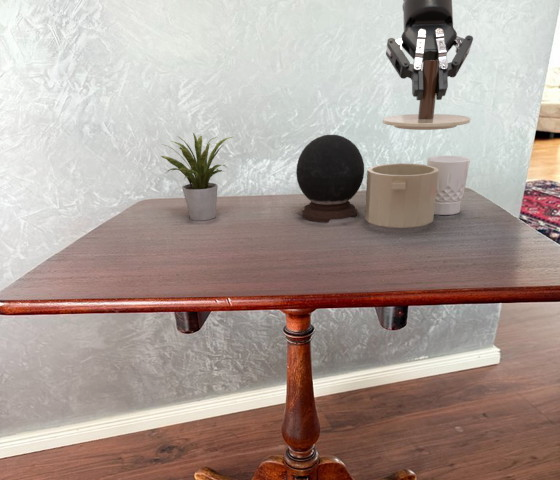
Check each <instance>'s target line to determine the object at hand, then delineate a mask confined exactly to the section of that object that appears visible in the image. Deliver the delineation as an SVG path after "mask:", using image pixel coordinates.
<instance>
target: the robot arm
mask: <svg viewBox="0 0 560 480" xmlns="http://www.w3.org/2000/svg"><path fill="white" fill-rule="evenodd" d="M402 12H403V32H402V33H401V37H400V38H398V39H395V38H394V37H389V38H388V39H387V41H386V50H385V56H386V57H387V59H388V61H389V63H390V64H391V65H392V67H393V68H394V70H395V72H396V73H397V75H398V76H399V78H400V79H404V80H405V79H407V78H408V79H410V80H411V95H412V96H413V97H414V98H416V99H415V100H416V101H420V100H422V95H423V71H422V69H423V61H424V60H440V62H439V71H438V80H437V90H436V99H435V101H441V100H442V99H443V97H445V96H446V94H447V91H448V87H449V82H448V81H449V80H448V79H449V78H455V77H456V76H457V75H458V73H459V72H460V70H461V68H462V66H463V65H464V62H465V61H466V58H467V57H468V55H469V54H470V50H471V47H472V45H473V41H474V37H473V36H472V35H471V34H470V35H466V36H465V38H463V37H461V36H458V32H457V31H456V29H455V28H454V15H453V0H402ZM453 47H455V49H454V52H455V55H454V57H453V59H452V60H451V61H450V62H448V58H447V54H448V52H449V51H450V50H451V49H452V48H453ZM403 50H404V51H405V52H406V53H407V54H408V55H409V56H410V57H411V59H412V60H413V61H412V63H411V62H410V60H409V59H408V57H407V56H406V54H405V53H404V51H403Z"/></svg>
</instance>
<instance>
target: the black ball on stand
mask: <svg viewBox="0 0 560 480" xmlns="http://www.w3.org/2000/svg"><path fill="white" fill-rule="evenodd" d="M364 176H365V163H364V159H363V156H362V154H361V151H360V150H359V148H358V147H357V146H356V144H355V143H353V142H352V141H351V140H350V139H348V138H346V137H344V136H342V135H340V134H325V135H321V136H318V137H316V138H314V139H313V140H311V141H310V142H309V143H308V144H307V145H305V147H304V148H303V150H302V151H301V152H300V155H299V157H298V160H297V163H296V181H297V184H298V187H299V189H300V191H301V192H302V194H303V195H304V196H305V197H306V198H307V199H308V200H309V201H310V202H309V203H308V204H306V205H305V206H304V208H303V210H301V217H302V218H303V219H304V220H307V221H311V222H314V223H315V222H316V223H329V222H330V221H331V220H342V219H343V220H344V219H349V218H357V217H358V212H359V211H358V209H357V208H356V206H355V205H354V204H352V203H351V202H350V200H351V199H353V197H354V196H355V195H356V194H357V193H358V191H359V189H360V188H361V186H362V185H363V180H364Z"/></svg>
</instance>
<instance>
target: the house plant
mask: <svg viewBox="0 0 560 480" xmlns="http://www.w3.org/2000/svg"><path fill="white" fill-rule="evenodd" d="M192 134H193V135H192V136H193V139H194V150H195V151H194V152H195V154H194V152H193V150H192V148H191V146H190V145H189V144H188V143H187V142H186V141H185V140H184V139H183V138H181V137H180V136H178V138H179V139H180V140H181V141H182V142H184V144H185V145H184V144H182V143H181V142H177V141H174V140H170V142H171V143H175V144H176V147H177V148H178V149H179V150H181V154H180V153H179V152H177V151H176V150H175V149H174V148H173V147H171V146H169V145H166V144H161V145H162V146H163V145H164V146H166V147H168V148H170V149H171V150H173V151H174V152H175V153H177V155H179V157H181V159H182V160H183V161H184V162H185V164H186V165H187V166H188V167H187V166H186V165H185V164H184V163H182V162H180V161H179V160H177V159H175V158H172V157H170V156H166V155H160V157H161V158H162V159H164V160H166V161H167V162H168V163H170V164H171V165H172V166H174V168H170V169H168V170H167V171H166V173H168V172H170V171H171V172H173V171H179V172H180V173H181V174H182V175H183V176H184V179H187V182H188V183H189V184H188V183H187V184H184V185H183V186H182V188H181V189H182V193H183V197H184V200H185V203H186V207H187V211H188V214H189V218H190V220H191V221H197V222H199V221H200V222H201V221H210V220H213V219H216V216H217V203H218V184H217V183H215V182H210V180H211V178H212V177H213V176H214V175H216V174H218V173H221V172H225V173H226V171H225V170H222V169H219V167H222V166H223V167H226V165H225V164H214V165H213V166H212V167H211V164H212V163H213V160H214V158H215V157H216V155H218V153H219V152H220V149H221V148H222V147H223V144H224V142H226V141H227V140H230V139H232V138H233V136H230V137H229V136H228V137H225V138H223V139H221V140H220V141H218V142H217V143H216V144H215V146H214V147H213V149H212V150H211V153H210V154H209V150H210V145H211V143H210V142H211V141H212V140H214V139H217V138H218V136H216V137H212V138H211V139H210V140H209V141H208V142H207V143H206V146H205V149H204V150H203V149H202V148H203V136H202V135H200V136H198V138H197V136H196V134H195V132H192ZM177 145H178V146H177ZM186 146H187V147H186ZM202 150H203V151H202ZM185 159H186V160H185Z"/></svg>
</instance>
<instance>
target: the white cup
mask: <svg viewBox="0 0 560 480" xmlns="http://www.w3.org/2000/svg"><path fill="white" fill-rule="evenodd" d="M470 163H471V158H470V157H468V156H462V155H433V156H430V157H428V158H427V161H426V165H429V166H433V167H436V168H438V178H437V187H436V196H435V206H434V215H436V216H452V215H457V214H459V213H461V210H462V209H461V208H462V202H463V199H464V195H465V190H466V185H467V180H468V174H469V170H470V169H469V168H470V167H469V166H470Z"/></svg>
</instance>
